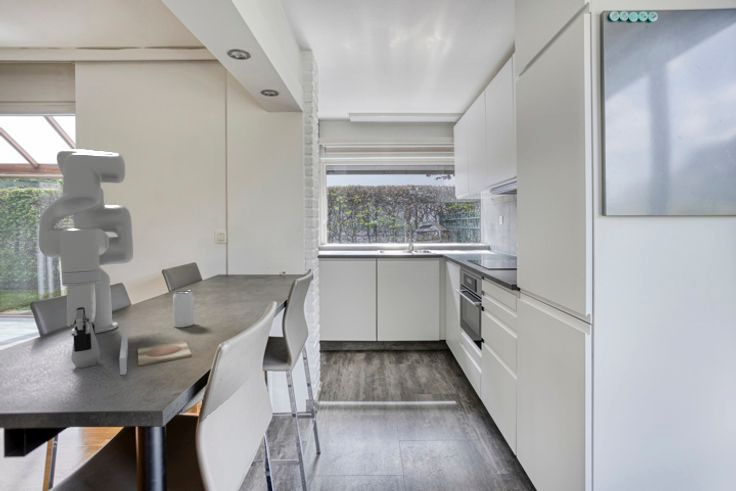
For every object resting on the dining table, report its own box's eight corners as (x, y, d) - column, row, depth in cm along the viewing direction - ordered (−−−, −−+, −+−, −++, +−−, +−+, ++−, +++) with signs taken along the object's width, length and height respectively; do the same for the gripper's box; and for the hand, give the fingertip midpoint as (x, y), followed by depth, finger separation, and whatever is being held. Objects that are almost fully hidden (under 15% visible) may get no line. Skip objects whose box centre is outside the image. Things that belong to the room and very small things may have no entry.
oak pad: (137, 350, 101) (137, 347, 101) (185, 342, 108) (185, 339, 107) (138, 366, 89) (138, 363, 89) (191, 356, 96) (191, 353, 96)
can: (180, 329, 122) (179, 294, 121) (170, 326, 125) (168, 292, 124) (198, 324, 127) (197, 291, 127) (187, 322, 131) (186, 289, 130)
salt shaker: (106, 360, 93) (103, 311, 93) (87, 369, 88) (84, 317, 87) (86, 360, 94) (83, 311, 93) (65, 368, 88) (62, 317, 88)
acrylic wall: (122, 348, 102) (122, 335, 102) (127, 348, 103) (127, 334, 103) (120, 375, 84) (119, 358, 84) (126, 374, 85) (125, 357, 84)
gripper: (67, 275, 95) (71, 339, 96) (55, 283, 80) (60, 358, 81) (102, 273, 99) (106, 334, 100) (97, 280, 84) (101, 351, 85)
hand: (85, 345), depth 90 cm, fingers open, 9 cm apart
